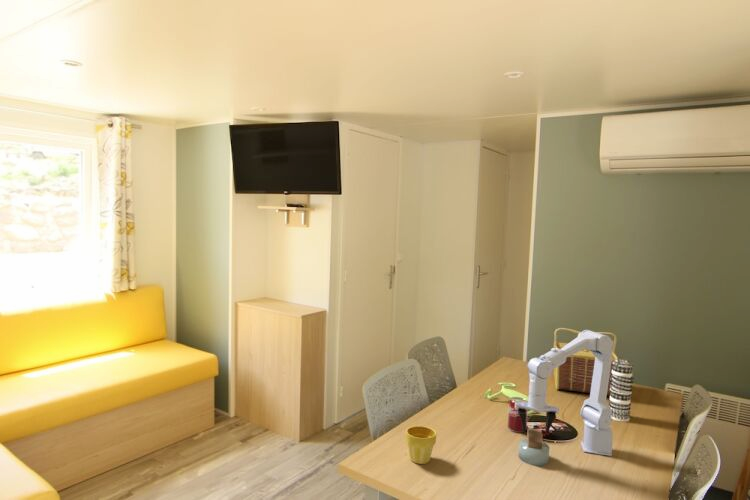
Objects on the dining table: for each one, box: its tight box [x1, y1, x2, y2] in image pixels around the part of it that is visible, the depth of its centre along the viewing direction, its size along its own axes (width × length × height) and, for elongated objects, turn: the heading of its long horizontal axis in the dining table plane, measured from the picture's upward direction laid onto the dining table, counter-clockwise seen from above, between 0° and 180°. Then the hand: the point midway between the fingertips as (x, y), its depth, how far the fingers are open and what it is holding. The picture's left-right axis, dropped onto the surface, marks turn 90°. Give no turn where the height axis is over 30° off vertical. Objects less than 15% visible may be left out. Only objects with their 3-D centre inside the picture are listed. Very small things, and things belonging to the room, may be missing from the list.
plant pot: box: [405, 425, 437, 465], centre depth 164 cm, size 10×10×10 cm
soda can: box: [507, 397, 529, 434], centre depth 191 cm, size 7×7×12 cm
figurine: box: [484, 382, 535, 415], centre depth 221 cm, size 18×27×6 cm
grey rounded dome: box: [518, 438, 550, 467], centre depth 168 cm, size 10×10×5 cm
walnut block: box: [526, 427, 544, 449], centre depth 167 cm, size 4×4×5 cm
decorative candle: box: [608, 358, 634, 422], centre depth 206 cm, size 9×9×25 cm
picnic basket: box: [553, 327, 619, 397], centre depth 242 cm, size 29×26×30 cm
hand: (535, 431), depth 167 cm, fingers open, 7 cm apart
